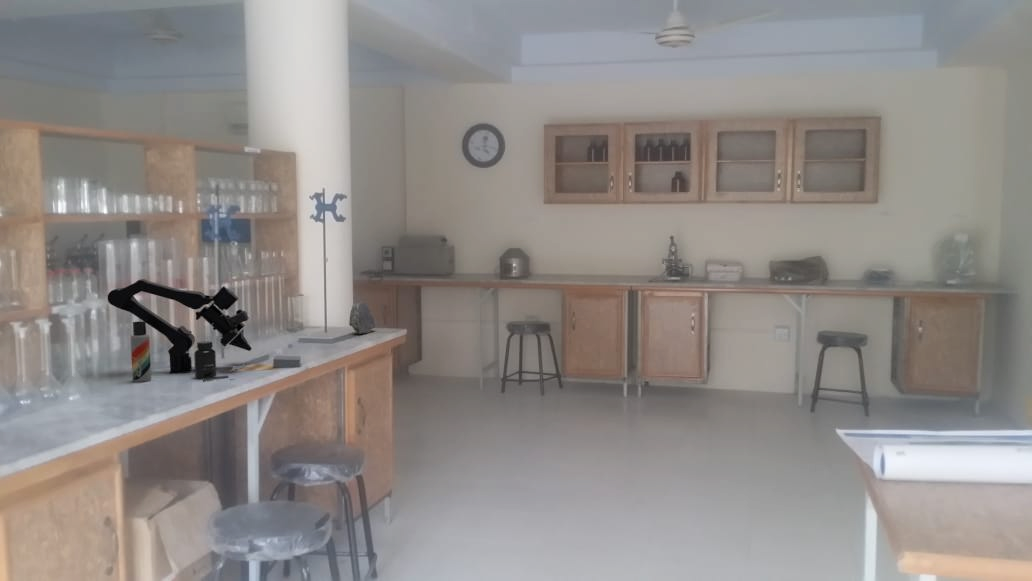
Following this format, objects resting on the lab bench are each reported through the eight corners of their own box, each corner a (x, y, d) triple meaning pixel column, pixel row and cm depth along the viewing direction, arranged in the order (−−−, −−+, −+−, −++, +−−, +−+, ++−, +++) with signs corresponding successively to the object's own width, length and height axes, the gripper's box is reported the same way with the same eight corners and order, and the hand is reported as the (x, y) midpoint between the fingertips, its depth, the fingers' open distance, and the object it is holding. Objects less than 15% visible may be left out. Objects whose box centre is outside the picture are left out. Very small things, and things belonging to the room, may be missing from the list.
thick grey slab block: (273, 359, 292) (299, 359, 294) (275, 355, 299) (300, 356, 301) (273, 367, 292) (299, 368, 294) (274, 364, 299) (300, 364, 301)
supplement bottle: (209, 379, 275) (207, 344, 274) (190, 378, 277) (189, 343, 276) (220, 375, 282) (219, 340, 281) (202, 374, 283) (201, 340, 282)
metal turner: (205, 383, 270) (205, 380, 270) (201, 379, 275) (201, 376, 275) (250, 377, 278) (250, 375, 278) (246, 374, 283) (245, 372, 283)
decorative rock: (358, 336, 366) (357, 302, 364) (346, 335, 369) (345, 302, 367) (378, 331, 381) (378, 298, 379) (366, 330, 384) (365, 298, 382)
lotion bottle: (131, 382, 271) (128, 322, 269) (134, 379, 276) (131, 320, 274) (149, 381, 272) (146, 321, 270) (152, 378, 278) (149, 319, 276)
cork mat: (229, 372, 287) (229, 371, 287) (233, 366, 298) (233, 364, 298) (276, 370, 290) (276, 369, 290) (279, 364, 302) (279, 363, 302)
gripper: (229, 307, 281) (263, 339, 284) (238, 299, 299) (270, 329, 303) (206, 330, 281) (240, 361, 284) (215, 321, 299) (248, 350, 302)
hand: (250, 349), depth 293 cm, fingers closed
